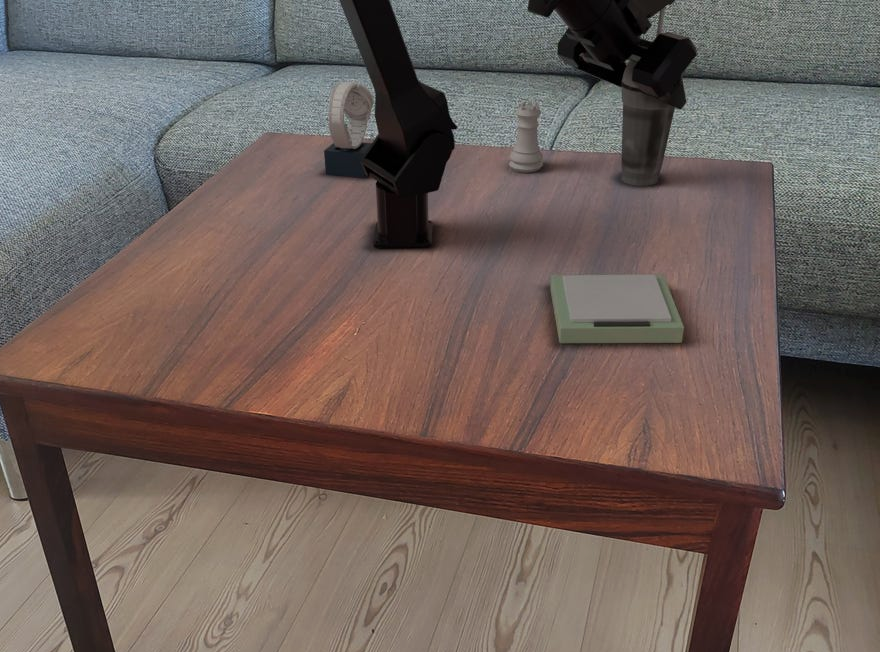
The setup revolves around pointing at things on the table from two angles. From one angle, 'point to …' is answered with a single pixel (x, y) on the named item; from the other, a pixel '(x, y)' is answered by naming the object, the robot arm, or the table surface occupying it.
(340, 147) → the watch
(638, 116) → the beverage cup
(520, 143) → the rook chess piece
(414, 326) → the table surface
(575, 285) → the scale
